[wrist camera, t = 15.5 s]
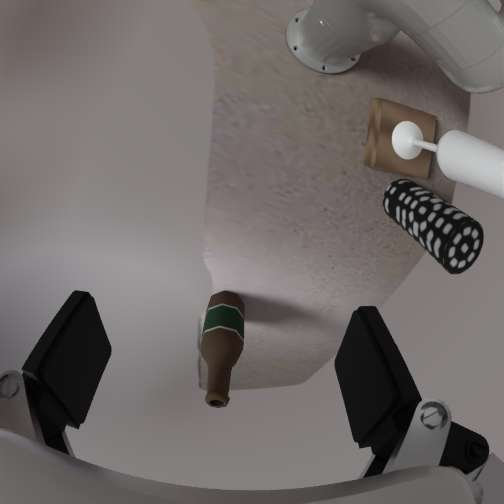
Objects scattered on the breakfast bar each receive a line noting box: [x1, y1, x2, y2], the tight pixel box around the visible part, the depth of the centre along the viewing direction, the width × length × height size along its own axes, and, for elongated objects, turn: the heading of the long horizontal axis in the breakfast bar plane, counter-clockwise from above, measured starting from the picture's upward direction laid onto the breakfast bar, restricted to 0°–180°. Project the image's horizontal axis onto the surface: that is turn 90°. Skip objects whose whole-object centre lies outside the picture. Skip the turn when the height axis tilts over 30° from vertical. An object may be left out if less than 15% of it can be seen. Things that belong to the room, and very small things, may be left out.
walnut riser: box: [364, 98, 437, 180], centre depth 39 cm, size 12×12×4 cm
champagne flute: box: [392, 121, 504, 199], centre depth 27 cm, size 7×7×24 cm
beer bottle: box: [200, 291, 244, 408], centre depth 46 cm, size 8×8×24 cm
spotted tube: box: [383, 179, 484, 274], centre depth 37 cm, size 8×8×20 cm
